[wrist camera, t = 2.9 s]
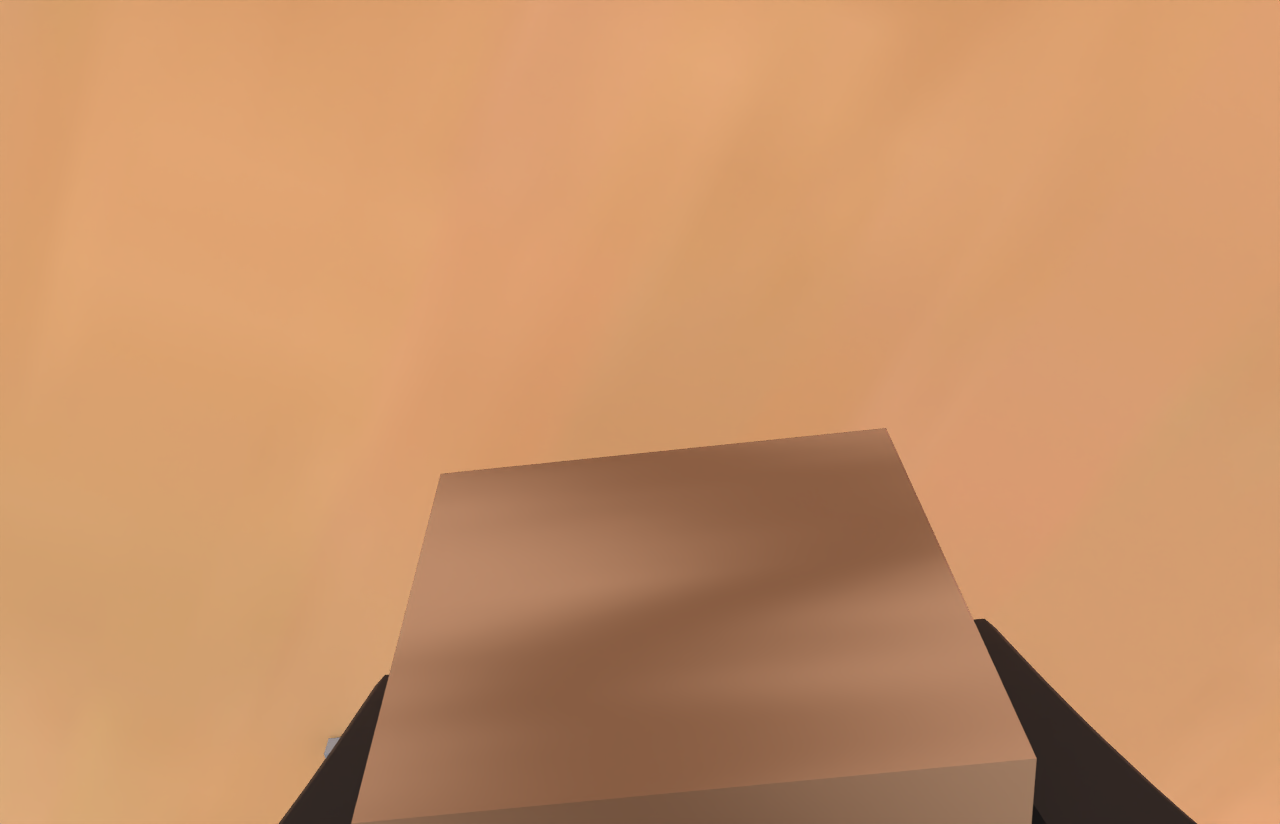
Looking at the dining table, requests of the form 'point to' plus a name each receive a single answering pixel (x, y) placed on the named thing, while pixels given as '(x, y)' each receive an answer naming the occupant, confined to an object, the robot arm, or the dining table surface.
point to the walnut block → (693, 650)
